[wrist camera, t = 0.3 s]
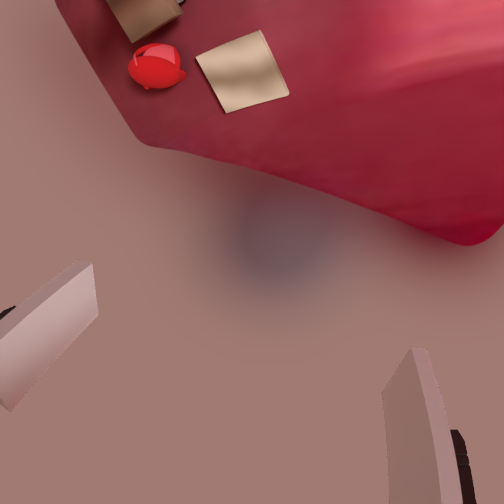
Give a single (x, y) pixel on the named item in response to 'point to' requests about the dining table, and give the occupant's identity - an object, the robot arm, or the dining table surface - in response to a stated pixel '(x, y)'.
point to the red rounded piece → (156, 66)
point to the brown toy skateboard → (144, 15)
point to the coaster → (243, 72)
